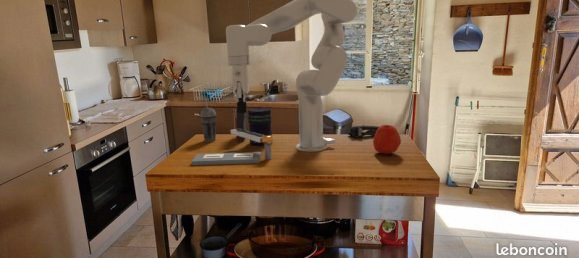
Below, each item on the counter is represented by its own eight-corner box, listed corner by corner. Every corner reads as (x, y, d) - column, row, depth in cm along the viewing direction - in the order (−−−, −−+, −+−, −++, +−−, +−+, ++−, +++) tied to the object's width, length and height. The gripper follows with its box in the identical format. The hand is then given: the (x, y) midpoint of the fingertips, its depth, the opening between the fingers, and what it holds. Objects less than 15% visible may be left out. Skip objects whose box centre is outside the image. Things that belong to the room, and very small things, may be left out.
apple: (406, 152, 147) (406, 125, 145) (382, 156, 143) (383, 128, 141) (389, 147, 156) (390, 121, 154) (367, 150, 152) (367, 123, 150)
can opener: (352, 139, 171) (352, 127, 170) (346, 136, 178) (346, 124, 177) (389, 136, 175) (390, 124, 174) (382, 133, 181) (383, 121, 180)
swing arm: (274, 142, 143) (274, 136, 142) (265, 144, 140) (265, 138, 140) (239, 132, 163) (239, 126, 163) (230, 133, 161) (230, 128, 160)
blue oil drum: (271, 146, 163) (270, 110, 160) (248, 147, 163) (246, 111, 160) (273, 141, 173) (271, 107, 170) (250, 141, 173) (249, 108, 170)
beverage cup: (220, 140, 178) (217, 96, 174) (215, 143, 171) (212, 98, 167) (204, 140, 178) (201, 96, 174) (199, 144, 171) (196, 98, 167)
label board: (271, 155, 149) (271, 139, 148) (271, 162, 139) (270, 146, 138) (197, 157, 149) (196, 142, 148) (191, 165, 139) (190, 149, 138)
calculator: (239, 136, 183) (237, 105, 180) (248, 136, 183) (246, 104, 180) (236, 142, 172) (234, 108, 169) (245, 142, 172) (244, 108, 169)
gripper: (247, 61, 130) (251, 115, 134) (251, 60, 145) (254, 109, 149) (225, 62, 130) (229, 116, 134) (230, 61, 145) (234, 110, 149)
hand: (242, 112), depth 141 cm, fingers closed
